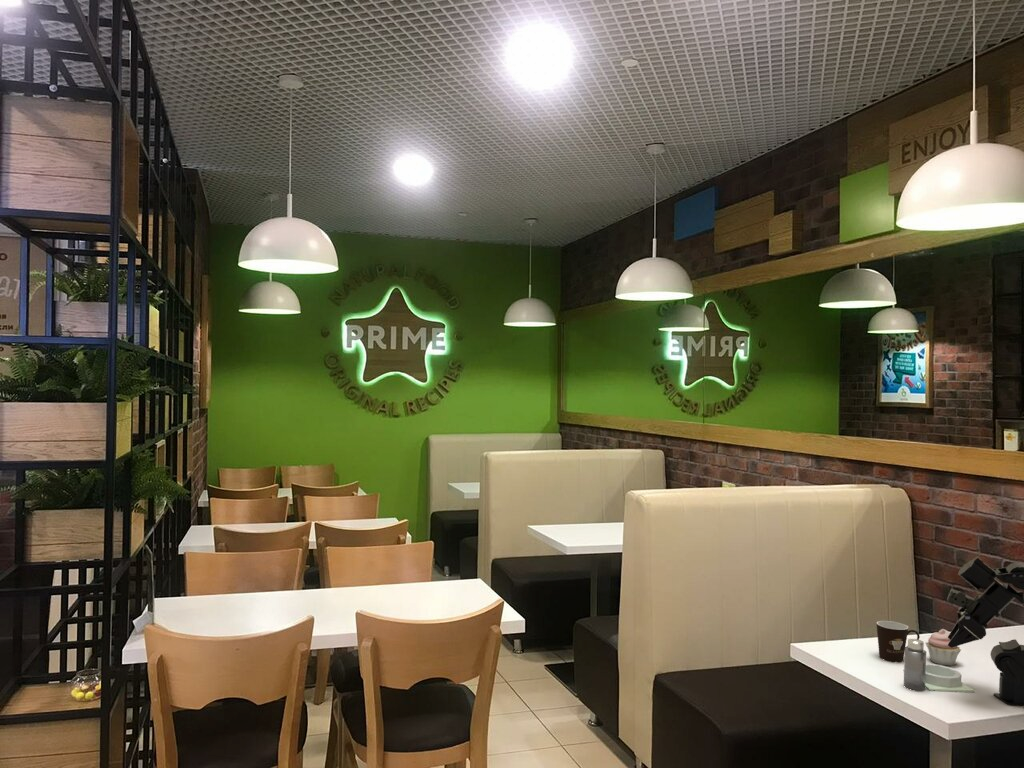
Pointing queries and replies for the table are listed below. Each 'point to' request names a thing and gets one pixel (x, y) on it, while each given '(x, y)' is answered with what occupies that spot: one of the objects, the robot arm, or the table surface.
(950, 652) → the cupcake
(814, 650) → the table surface
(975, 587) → the robot arm
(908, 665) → the metal bottle
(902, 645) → the coffee mug
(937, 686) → the ring plate
